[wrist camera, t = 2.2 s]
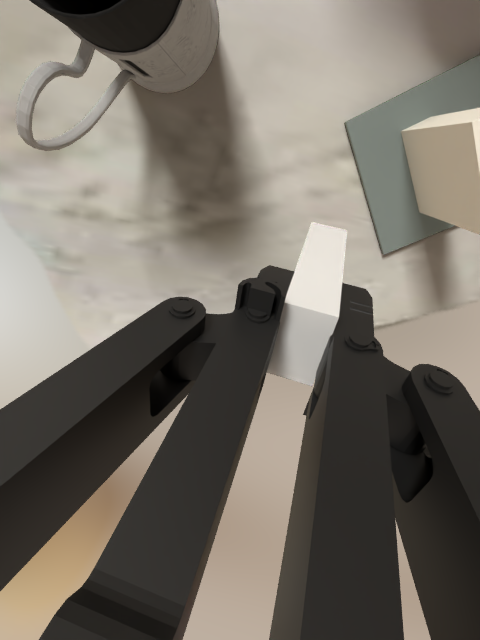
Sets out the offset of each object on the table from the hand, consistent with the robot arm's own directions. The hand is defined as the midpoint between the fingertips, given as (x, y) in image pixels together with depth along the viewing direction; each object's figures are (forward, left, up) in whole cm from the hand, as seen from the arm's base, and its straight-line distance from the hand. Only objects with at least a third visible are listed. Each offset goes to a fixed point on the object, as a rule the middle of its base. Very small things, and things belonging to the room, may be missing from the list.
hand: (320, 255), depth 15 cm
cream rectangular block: (-8, +9, -17) cm, 21 cm away
